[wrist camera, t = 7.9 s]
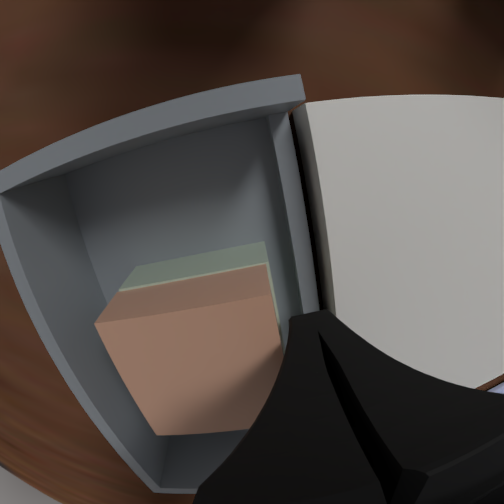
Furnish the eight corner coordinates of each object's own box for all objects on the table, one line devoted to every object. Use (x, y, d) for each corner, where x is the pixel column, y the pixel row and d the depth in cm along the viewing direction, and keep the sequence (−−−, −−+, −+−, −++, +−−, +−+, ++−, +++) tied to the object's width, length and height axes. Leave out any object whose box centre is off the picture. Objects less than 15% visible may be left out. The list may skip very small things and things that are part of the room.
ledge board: (526, 327, 14) (547, 346, 12) (331, 401, 15) (341, 436, 13) (541, 107, 10) (573, 109, 7) (292, 111, 10) (305, 103, 8)
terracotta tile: (289, 382, 11) (296, 421, 9) (165, 398, 12) (156, 435, 10) (265, 263, 10) (271, 294, 8) (117, 292, 10) (94, 323, 8)
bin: (324, 408, 15) (342, 475, 11) (166, 429, 16) (153, 492, 11) (278, 99, 10) (299, 73, 6) (56, 163, 11) (-17, 180, 6)
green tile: (284, 350, 13) (290, 381, 11) (174, 366, 13) (166, 397, 11) (264, 241, 11) (268, 261, 10) (136, 266, 12) (118, 289, 10)
